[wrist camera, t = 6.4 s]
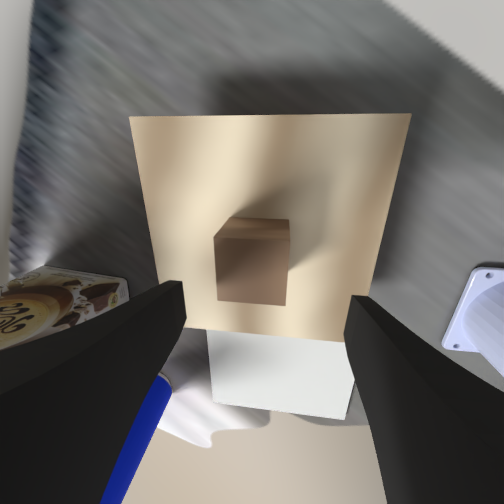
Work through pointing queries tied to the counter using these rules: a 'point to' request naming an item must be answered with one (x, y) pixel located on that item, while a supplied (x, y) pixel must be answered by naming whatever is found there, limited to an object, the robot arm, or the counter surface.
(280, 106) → the counter surface
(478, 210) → the counter surface
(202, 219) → the lid
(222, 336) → the mat
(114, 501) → the beverage can
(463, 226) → the counter surface
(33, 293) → the coffee box
